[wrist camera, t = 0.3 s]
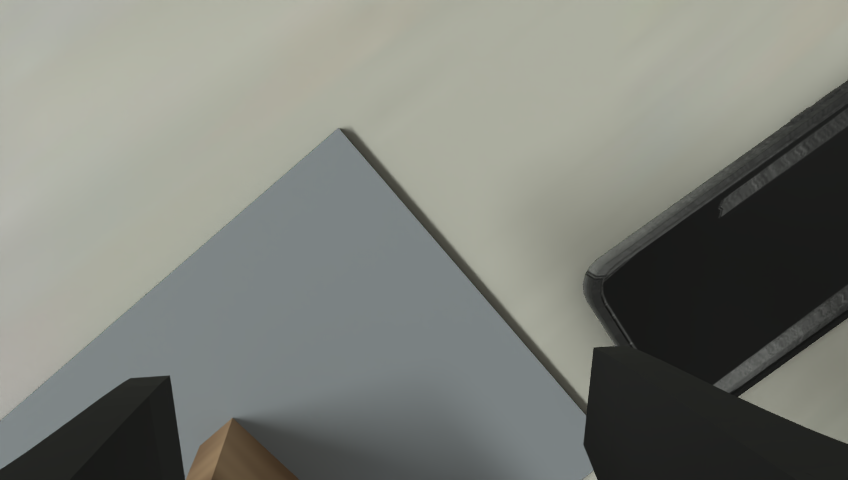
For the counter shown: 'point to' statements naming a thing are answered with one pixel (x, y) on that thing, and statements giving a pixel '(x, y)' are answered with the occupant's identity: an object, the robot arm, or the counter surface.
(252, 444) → the walnut tile
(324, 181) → the rubber mat
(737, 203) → the phone
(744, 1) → the counter surface
